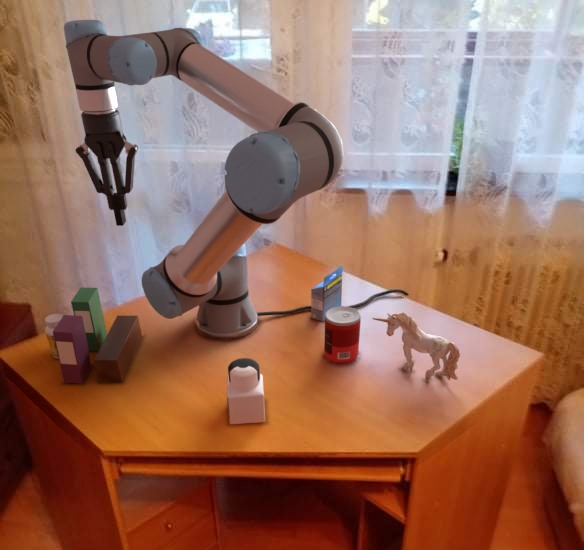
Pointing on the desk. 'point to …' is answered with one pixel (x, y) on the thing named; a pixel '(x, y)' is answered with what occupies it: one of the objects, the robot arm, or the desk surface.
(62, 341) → the plum tea box
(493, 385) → the desk surface
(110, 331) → the walnut block
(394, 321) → the unicorn figurine
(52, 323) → the supplement bottle
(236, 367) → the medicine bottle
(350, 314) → the canned food
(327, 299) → the tape cartridge
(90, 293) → the green tea box
